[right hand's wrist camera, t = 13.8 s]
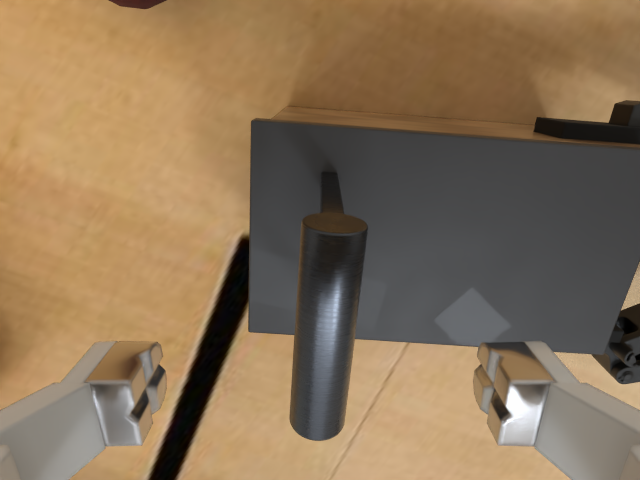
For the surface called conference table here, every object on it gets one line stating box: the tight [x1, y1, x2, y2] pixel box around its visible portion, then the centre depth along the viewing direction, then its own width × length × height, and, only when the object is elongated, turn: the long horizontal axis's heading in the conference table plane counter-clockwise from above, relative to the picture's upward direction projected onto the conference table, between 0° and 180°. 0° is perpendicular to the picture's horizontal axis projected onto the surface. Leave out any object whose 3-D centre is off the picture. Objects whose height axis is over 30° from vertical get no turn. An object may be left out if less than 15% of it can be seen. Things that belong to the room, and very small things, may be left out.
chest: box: [272, 106, 640, 147], centre depth 24 cm, size 17×10×10 cm, turn 86°
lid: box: [248, 118, 640, 441], centre depth 16 cm, size 18×10×9 cm, turn 86°
